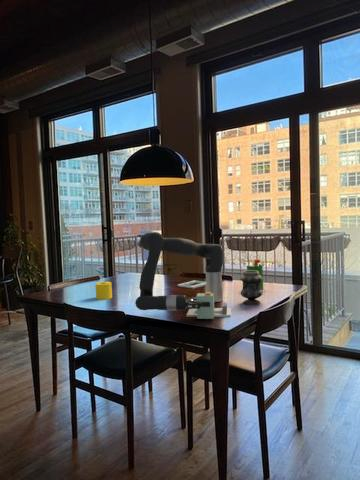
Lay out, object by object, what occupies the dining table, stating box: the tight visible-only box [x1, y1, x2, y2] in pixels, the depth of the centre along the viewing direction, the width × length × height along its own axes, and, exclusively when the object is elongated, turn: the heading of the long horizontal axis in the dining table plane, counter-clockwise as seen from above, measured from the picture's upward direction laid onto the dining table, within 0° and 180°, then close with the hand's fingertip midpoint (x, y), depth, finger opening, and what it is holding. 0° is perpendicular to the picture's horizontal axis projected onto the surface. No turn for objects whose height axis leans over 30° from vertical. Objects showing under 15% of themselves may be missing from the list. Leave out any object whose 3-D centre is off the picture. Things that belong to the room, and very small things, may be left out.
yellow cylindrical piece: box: [95, 281, 113, 301], centre depth 239 cm, size 10×10×9 cm
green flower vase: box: [246, 258, 264, 291], centre depth 246 cm, size 10×9×20 cm
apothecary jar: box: [239, 269, 263, 306], centre depth 210 cm, size 12×12×18 cm
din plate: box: [186, 302, 232, 318], centre depth 193 cm, size 22×12×5 cm, turn 81°
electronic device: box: [177, 279, 206, 289], centre depth 268 cm, size 18×2×15 cm
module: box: [195, 292, 215, 320], centre depth 182 cm, size 8×6×12 cm
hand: (210, 302), depth 182 cm, fingers closed on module, 6 cm apart
